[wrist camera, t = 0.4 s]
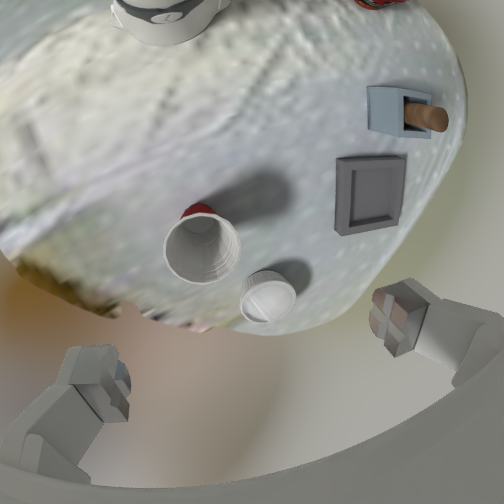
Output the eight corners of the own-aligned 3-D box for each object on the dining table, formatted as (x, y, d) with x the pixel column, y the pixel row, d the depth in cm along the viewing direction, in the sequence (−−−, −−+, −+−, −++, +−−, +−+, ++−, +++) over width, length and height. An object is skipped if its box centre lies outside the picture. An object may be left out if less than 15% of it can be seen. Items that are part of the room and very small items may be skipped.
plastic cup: (229, 185, 46) (242, 212, 35) (230, 242, 51) (242, 281, 41) (164, 190, 44) (157, 219, 33) (171, 248, 49) (168, 288, 39)
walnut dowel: (379, 98, 41) (433, 106, 29) (395, 100, 42) (448, 109, 30) (379, 118, 43) (432, 131, 31) (395, 119, 44) (448, 133, 32)
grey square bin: (366, 86, 41) (397, 87, 33) (399, 90, 42) (431, 94, 34) (367, 129, 45) (398, 137, 37) (400, 130, 46) (430, 138, 38)
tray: (336, 158, 47) (344, 162, 44) (395, 155, 49) (405, 159, 46) (334, 229, 54) (341, 236, 52) (390, 219, 56) (397, 225, 54)
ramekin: (227, 300, 58) (231, 317, 53) (252, 257, 54) (258, 273, 49) (271, 312, 62) (277, 329, 58) (298, 274, 58) (306, 289, 54)
